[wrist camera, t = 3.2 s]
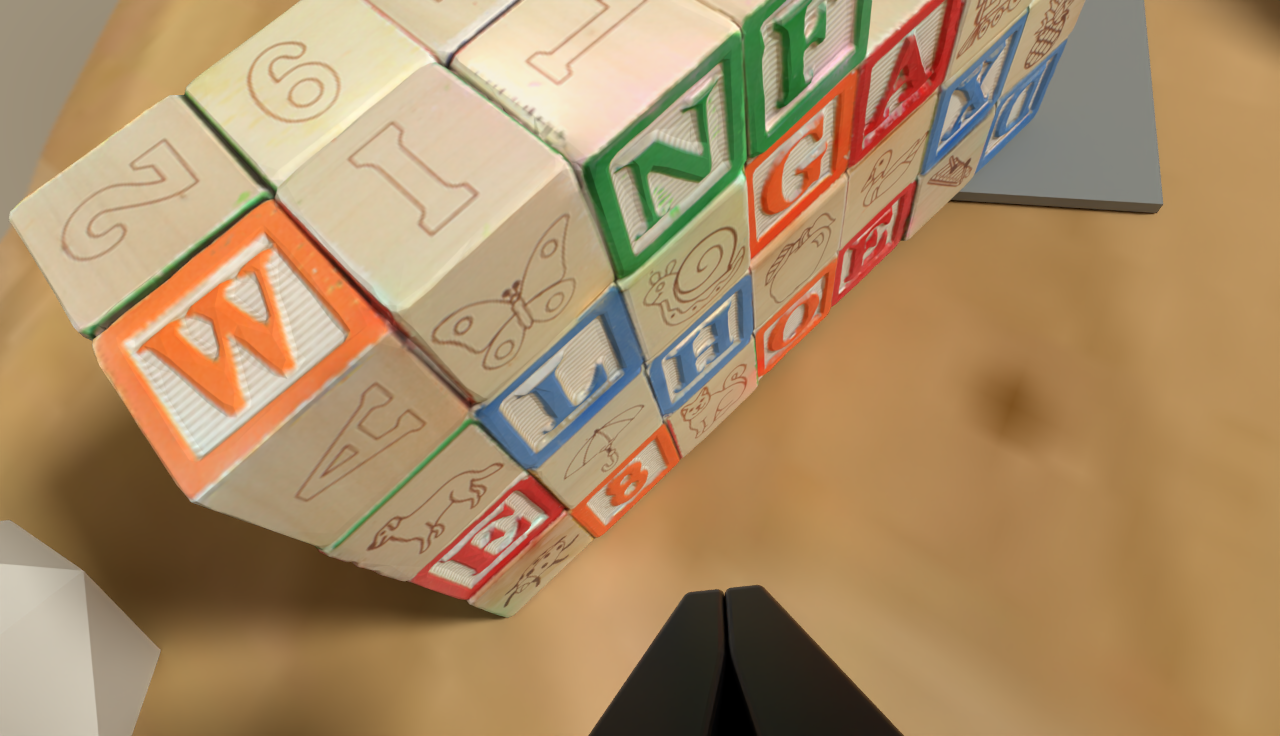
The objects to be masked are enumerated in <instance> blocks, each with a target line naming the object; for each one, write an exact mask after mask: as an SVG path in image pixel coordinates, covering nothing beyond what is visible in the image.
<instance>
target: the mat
mask: <svg viewBox="0 0 1280 736" xmlns="http://www.w3.org/2000/svg"><path fill="white" fill-rule="evenodd" d="M951 200H962V201H978V202H993V203H1009V204H1024V205H1040V206H1056V207H1071V208H1087V209H1103V210H1118V211H1134V212H1150V213H1157V212H1158V211H1159V209H1160V208H1161V206H1162V205H1163V197H1162V187H1161V176H1160V166H1159V155H1158V144H1157V134H1156V123H1155V113H1154V102H1153V91H1152V81H1151V70H1150V60H1149V49H1148V38H1147V28H1146V17H1145V7H1144V0H1085V3H1084V5H1083V7H1082V10H1081V12H1080V14H1079V17H1078V19H1077V22H1076V24H1075V26H1074V28H1073V31H1072V32H1071V33H1070V34H1069V35H1068V40H1067V43H1066V45H1065V48H1064V51H1063V53H1062V55H1061V57H1060V59H1059V61H1058V64H1057V66H1056V69H1055V72H1054V74H1053V77H1052V79H1051V81H1050V83H1049V85H1048V87H1047V90H1046V93H1045V95H1044V98H1043V100H1042V103H1041V105H1040V108H1039V110H1038V112H1037V113H1036V115H1035V117H1034V118H1033V119H1032V120H1031V121H1030V122H1029V123H1028V124H1027V125H1026V126H1025V127H1024V128H1023V129H1022V130H1021V131H1020V132H1019V133H1018V134H1017V135H1016V136H1015V137H1014V138H1013V139H1012V140H1011V141H1009V142H1008V143H1007V144H1006V145H1005V146H1004V147H1003V148H1002V149H1001V150H1000V151H999V152H998V153H997V154H996V155H995V156H994V157H993V158H992V159H991V160H990V161H989V162H988V163H987V164H986V165H985V166H984V167H983V168H981V169H980V170H979V171H978V172H977V173H975V174H974V176H973V178H972V179H971V180H970V181H969V182H968V183H967V184H966V185H965V186H964V187H963V188H962V189H961V190H960V191H959V192H958V193H957V194H956V195H955V196H954V197H953V198H952V199H951Z"/></svg>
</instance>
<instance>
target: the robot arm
mask: <svg viewBox="0 0 1280 736" xmlns="http://www.w3.org/2000/svg"><path fill="white" fill-rule="evenodd" d="M589 736H904V735H903V734H902V733H901V732H900V731H899V730H898V729H897V728H896V727H895V726H894V725H893V724H892V723H891V722H890V720H889V719H888V718H887V717H886V716H885V715H884V714H883V713H882V712H881V711H880V710H879V709H878V708H877V707H876V706H875V705H874V704H873V702H872V701H871V700H870V699H869V698H868V697H867V696H866V695H865V694H864V693H863V692H862V691H861V690H860V689H859V688H858V687H857V686H856V684H855V683H854V682H853V681H852V680H851V679H850V678H849V677H848V676H847V675H846V674H845V673H844V672H843V671H842V670H841V669H840V668H839V667H838V665H837V664H836V663H835V662H834V661H833V660H832V659H831V658H830V657H829V656H828V655H827V654H826V653H825V652H824V651H823V650H822V649H821V647H820V646H819V645H818V644H817V643H816V642H815V641H814V640H813V639H812V638H811V637H810V636H809V635H808V634H807V633H806V632H805V631H804V629H803V628H802V627H801V626H800V625H799V624H798V623H797V622H796V621H795V620H794V619H793V618H792V617H791V616H790V615H789V614H788V613H787V611H786V610H785V609H784V608H783V607H782V606H781V605H780V604H779V603H778V602H777V601H776V600H775V599H774V598H773V597H772V596H771V595H770V593H769V592H768V591H767V590H766V589H765V588H764V587H762V586H760V585H752V586H743V587H734V588H729V589H728V590H726V592H725V596H724V593H723V592H722V591H721V590H717V589H715V590H706V591H696V592H689V593H687V594H686V595H685V596H684V597H683V598H682V600H681V601H680V603H679V604H678V606H677V607H676V609H675V610H674V612H673V613H672V614H671V616H670V617H669V619H668V620H667V622H666V623H665V625H664V626H663V628H662V629H661V630H660V632H659V633H658V635H657V636H656V638H655V639H654V641H653V642H652V644H651V645H650V647H649V648H648V649H647V651H646V652H645V654H644V655H643V657H642V658H641V660H640V661H639V663H638V664H637V666H636V667H635V668H634V670H633V671H632V673H631V674H630V676H629V677H628V679H627V680H626V682H625V683H624V685H623V686H622V687H621V689H620V690H619V692H618V693H617V695H616V696H615V698H614V699H613V701H612V702H611V704H610V705H609V706H608V708H607V709H606V711H605V712H604V714H603V715H602V717H601V718H600V720H599V721H598V723H597V724H596V725H595V727H594V728H593V730H592V731H591V733H590V734H589Z"/></svg>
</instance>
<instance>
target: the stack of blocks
mask: <svg viewBox="0 0 1280 736" xmlns="http://www.w3.org/2000/svg"><path fill="white" fill-rule="evenodd" d="M1084 3H1085V0H301V1H299V2H298V3H297V4H295V5H294V6H293V7H291V8H290V9H289V10H287V11H286V12H285V13H283V14H282V15H281V16H279V17H278V18H277V19H275V20H274V21H273V22H271V23H270V24H269V25H267V26H266V27H264V28H263V29H262V30H260V31H259V32H258V33H256V34H255V35H254V36H252V37H251V38H250V39H248V40H247V41H245V42H244V43H243V44H241V45H240V46H239V47H237V48H236V49H234V50H233V51H232V52H230V53H229V54H228V55H226V56H225V57H223V58H222V59H221V60H219V61H218V62H217V63H215V64H214V65H213V66H211V67H210V68H209V69H207V70H206V71H205V72H203V73H202V74H200V75H199V76H198V77H197V78H195V79H194V80H193V81H192V82H191V83H190V84H189V85H188V86H187V87H186V90H185V94H184V95H170V96H168V97H166V98H164V99H163V100H161V101H159V102H158V103H156V104H155V105H153V106H151V107H150V108H148V109H147V110H145V111H144V112H143V113H141V114H140V115H138V116H137V117H136V118H134V119H133V120H132V121H130V122H129V123H128V124H126V125H125V126H124V127H122V128H121V129H120V130H118V131H117V132H116V133H114V134H113V135H112V136H110V137H109V138H107V139H106V140H105V141H103V142H102V143H101V144H99V145H98V146H97V147H95V148H94V149H93V150H91V151H90V152H89V153H87V154H86V155H85V156H83V157H82V158H80V159H79V160H78V161H76V162H75V163H73V164H72V165H70V166H69V167H68V168H66V169H65V170H63V171H62V172H61V173H59V174H58V175H56V176H55V177H53V178H52V179H51V180H49V181H48V182H46V183H45V184H44V185H42V186H41V187H39V188H38V189H36V190H35V191H34V192H32V193H31V194H29V195H28V196H27V197H25V198H24V199H23V200H22V201H21V202H20V203H19V204H18V205H17V206H16V207H15V208H14V209H13V210H12V211H11V212H10V217H9V220H10V222H11V223H12V225H13V226H14V228H15V230H16V231H17V233H18V234H19V236H20V237H21V239H22V241H23V242H24V244H25V245H26V247H27V249H28V250H29V252H30V254H31V255H32V257H33V259H34V260H35V262H36V264H37V265H38V267H39V269H40V270H41V272H42V274H43V275H44V277H45V278H46V280H47V282H48V283H49V285H50V287H51V288H52V290H53V292H54V293H55V295H56V297H57V299H58V300H59V302H60V304H61V306H62V308H63V309H64V311H65V313H66V315H67V316H68V318H69V320H70V322H71V323H72V325H73V327H74V328H75V329H76V330H77V331H78V332H79V333H80V334H81V335H82V336H83V337H85V338H87V339H90V340H92V341H93V342H92V347H93V351H94V354H95V357H96V359H97V361H98V363H99V365H100V367H101V369H102V370H103V372H104V373H105V375H106V376H107V378H108V379H109V381H110V382H111V384H112V385H113V387H114V388H115V390H116V392H117V393H118V395H119V396H120V398H121V400H122V401H123V403H124V404H125V406H126V408H127V409H128V411H129V412H130V414H131V415H132V417H133V419H134V420H135V422H136V423H137V425H138V426H139V428H140V430H141V431H142V433H143V434H144V436H145V437H146V439H147V440H148V442H149V443H150V445H151V446H152V448H153V449H154V451H155V453H156V454H157V456H158V457H159V459H160V460H161V462H162V463H163V465H164V466H165V468H166V469H167V471H168V472H169V474H170V476H171V477H172V479H173V480H174V482H175V483H176V485H177V486H178V487H179V488H180V490H181V491H182V492H183V493H184V494H185V496H186V497H187V498H188V499H189V500H190V502H192V503H195V504H197V505H200V506H203V507H205V508H208V509H211V510H213V511H216V512H219V513H222V514H225V515H227V516H230V517H233V518H236V519H239V520H242V521H245V522H248V523H251V524H254V525H257V526H260V527H263V528H265V529H268V530H271V531H274V532H277V533H280V534H282V535H285V536H288V537H291V538H294V539H297V540H299V541H302V542H305V543H308V544H311V545H314V546H315V547H316V548H317V549H318V551H319V552H321V553H323V554H325V555H327V556H329V557H332V558H335V559H338V560H341V561H344V562H352V563H353V564H354V565H356V566H357V567H361V568H365V569H369V570H372V571H374V572H376V573H378V574H380V575H383V576H386V577H389V578H393V579H396V580H400V581H408V582H411V583H414V584H416V585H419V586H422V587H424V588H427V589H430V590H433V591H436V592H439V593H442V594H445V595H448V596H451V597H454V598H457V599H464V600H466V601H467V602H468V603H469V604H470V605H472V606H475V607H477V608H480V609H483V610H485V611H488V612H491V613H493V614H496V615H500V616H503V617H506V618H509V617H511V616H513V615H515V614H516V613H517V612H518V611H519V610H520V609H521V608H522V607H523V606H524V605H525V604H526V603H527V602H528V601H529V600H530V599H531V598H532V597H533V596H534V595H536V594H537V593H538V592H539V591H540V590H541V589H542V588H543V587H544V586H545V585H546V584H547V583H548V582H549V581H550V580H551V579H552V578H553V577H555V576H556V575H557V574H558V573H559V572H560V571H561V570H562V569H563V568H564V567H565V566H566V565H567V564H568V563H569V562H570V561H571V560H573V559H574V558H575V557H576V556H577V555H578V554H579V553H580V552H581V551H582V550H583V549H584V548H585V547H586V546H587V545H588V544H589V543H590V542H591V541H592V540H593V539H594V538H597V537H600V536H601V535H603V534H604V533H605V532H606V531H607V530H608V529H610V528H611V527H612V526H613V525H614V524H615V523H616V522H617V521H618V520H619V519H620V518H621V517H622V516H623V515H624V514H625V513H626V512H627V511H628V510H629V509H631V508H632V507H633V506H634V505H635V504H636V503H637V502H638V501H639V500H640V499H641V498H642V497H643V496H644V495H645V494H646V493H647V492H648V491H649V490H650V489H651V488H652V487H653V486H654V485H656V484H657V483H658V482H659V481H660V480H661V479H662V478H663V477H664V476H665V475H666V474H667V473H668V472H669V471H670V470H671V469H672V468H673V467H674V466H675V465H676V464H677V463H678V462H679V461H680V459H681V458H683V457H684V456H685V455H687V454H688V453H689V452H690V451H691V450H692V449H693V448H694V447H695V446H696V445H698V444H699V443H700V442H701V441H702V440H703V439H705V438H706V437H707V436H708V435H709V434H710V433H711V432H712V431H713V430H714V429H715V428H716V427H717V426H718V425H719V424H720V423H721V422H722V421H723V420H724V419H725V418H726V417H727V416H728V415H730V414H731V413H732V412H733V411H734V410H735V409H736V408H737V407H738V406H739V405H740V404H741V403H742V402H743V401H744V400H745V399H746V398H747V397H748V396H749V395H750V394H751V393H752V392H753V391H754V390H755V389H756V388H757V386H758V381H759V380H760V378H761V377H762V376H763V375H764V374H766V373H767V372H769V371H770V370H771V369H772V368H773V367H774V366H775V365H776V364H777V362H778V361H780V360H781V359H782V358H783V357H784V356H785V354H786V353H787V352H788V351H789V350H791V349H792V348H793V347H794V346H795V345H796V344H798V343H799V342H800V341H801V340H802V339H803V338H804V337H805V336H806V335H807V334H808V333H809V332H810V331H811V330H812V329H813V328H814V327H815V326H816V325H817V324H818V323H819V322H820V321H821V320H823V319H824V318H825V317H826V316H827V315H828V313H829V311H830V309H831V307H832V306H834V305H835V304H836V303H837V302H838V301H839V300H840V299H841V298H842V297H844V296H845V295H846V294H847V293H848V292H849V291H850V290H851V289H852V288H853V287H855V286H856V285H857V284H858V283H859V282H860V281H861V280H862V279H863V278H864V277H865V276H866V275H867V274H868V273H869V272H870V271H871V270H872V269H873V268H874V267H875V266H876V265H877V264H878V263H880V262H881V261H882V260H883V258H884V257H885V256H886V255H888V254H889V253H890V252H891V251H892V250H893V249H894V248H895V247H896V246H897V244H898V243H899V242H900V241H901V240H902V241H906V240H908V239H910V238H911V237H912V236H913V235H914V234H915V233H916V232H917V231H918V230H919V229H920V228H921V227H922V226H923V225H924V224H925V223H926V222H927V221H928V220H929V219H930V218H932V217H933V216H934V215H935V214H936V213H937V212H938V211H939V210H940V209H941V208H942V207H943V206H944V205H945V204H946V203H947V202H948V201H950V200H951V199H952V198H953V197H954V196H955V195H956V194H957V193H958V192H959V191H960V190H961V189H962V188H963V187H964V186H965V185H966V184H967V183H968V182H969V181H970V180H971V179H972V178H973V176H974V174H975V173H977V172H978V171H979V170H980V169H981V168H983V167H984V166H985V165H986V164H987V163H988V162H989V161H990V160H991V159H992V158H993V157H994V156H995V155H996V154H997V153H998V152H999V151H1000V150H1001V149H1002V148H1003V147H1004V146H1005V145H1006V144H1007V143H1008V142H1009V141H1011V140H1012V139H1013V138H1014V137H1015V136H1016V135H1017V134H1018V133H1019V132H1020V131H1021V130H1022V129H1023V128H1024V127H1025V126H1026V125H1027V124H1028V123H1029V122H1030V121H1031V120H1032V119H1033V118H1034V117H1035V115H1036V113H1037V112H1038V110H1039V108H1040V105H1041V103H1042V100H1043V98H1044V95H1045V93H1046V90H1047V87H1048V85H1049V83H1050V81H1051V79H1052V77H1053V74H1054V72H1055V69H1056V66H1057V64H1058V61H1059V59H1060V57H1061V55H1062V53H1063V51H1064V48H1065V45H1066V43H1067V40H1068V35H1069V34H1070V33H1071V32H1072V31H1073V28H1074V26H1075V24H1076V22H1077V19H1078V17H1079V14H1080V12H1081V10H1082V7H1083V5H1084Z"/></svg>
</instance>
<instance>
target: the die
mask: <svg viewBox="0 0 1280 736" xmlns="http://www.w3.org/2000/svg"><path fill="white" fill-rule="evenodd" d="M160 652H161V650H160V649H159V648H158V647H157V646H156V645H155V644H154V643H153V642H152V641H151V640H150V639H149V638H148V637H147V636H146V635H145V634H144V633H143V631H142V630H141V629H140V628H139V627H138V626H137V625H136V624H135V623H134V622H133V621H132V620H131V619H130V618H129V617H128V616H127V615H126V614H125V613H124V612H123V611H122V610H121V609H120V608H119V607H118V606H117V605H116V604H115V603H114V602H113V601H112V600H111V599H110V597H109V596H108V595H107V594H106V593H105V592H104V591H103V590H102V589H101V588H100V587H99V586H98V585H97V584H96V583H95V582H94V581H93V580H92V579H91V578H90V577H89V576H88V575H87V574H86V573H85V572H84V571H83V570H82V569H80V568H79V567H77V566H76V565H75V564H73V563H72V562H70V561H69V560H67V559H66V558H64V557H63V556H61V555H60V554H59V553H57V552H56V551H54V550H53V549H51V548H50V547H48V546H47V545H46V544H44V543H43V542H41V541H40V540H38V539H37V538H35V537H34V536H32V535H31V534H30V533H28V532H27V531H25V530H24V529H22V528H21V527H19V526H18V525H16V524H15V523H14V522H12V521H11V520H5V521H0V736H132V734H133V731H134V728H135V725H136V722H137V719H138V716H139V713H140V710H141V707H142V705H143V702H144V699H145V696H146V693H147V690H148V687H149V684H150V681H151V678H152V675H153V673H154V670H155V667H156V664H157V661H158V658H159V655H160Z"/></svg>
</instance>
